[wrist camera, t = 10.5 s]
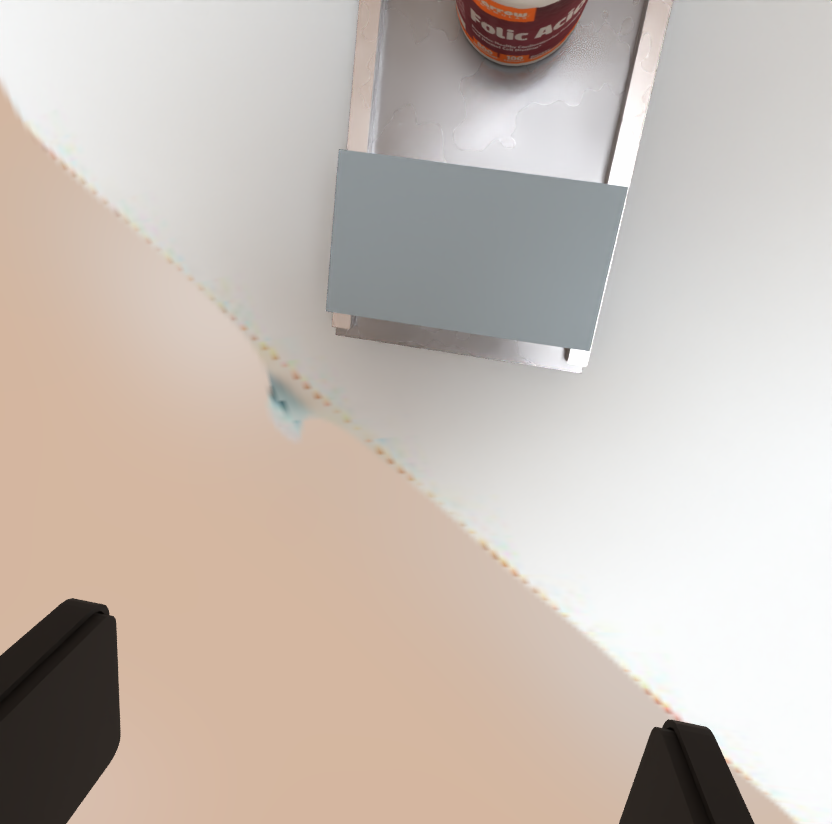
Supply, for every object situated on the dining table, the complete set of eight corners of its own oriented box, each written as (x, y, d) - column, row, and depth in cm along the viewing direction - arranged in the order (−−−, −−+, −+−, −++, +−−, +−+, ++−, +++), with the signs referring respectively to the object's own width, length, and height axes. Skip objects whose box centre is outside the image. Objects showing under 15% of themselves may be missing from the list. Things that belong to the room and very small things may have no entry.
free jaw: (374, 170, 22) (338, 149, 17) (594, 198, 22) (628, 186, 16) (362, 294, 24) (326, 311, 19) (566, 325, 23) (589, 351, 18)
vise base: (398, -295, 19) (350, -586, 12) (724, -274, 18) (863, -573, 12) (342, 330, 26) (290, 363, 19) (577, 367, 25) (609, 414, 19)
